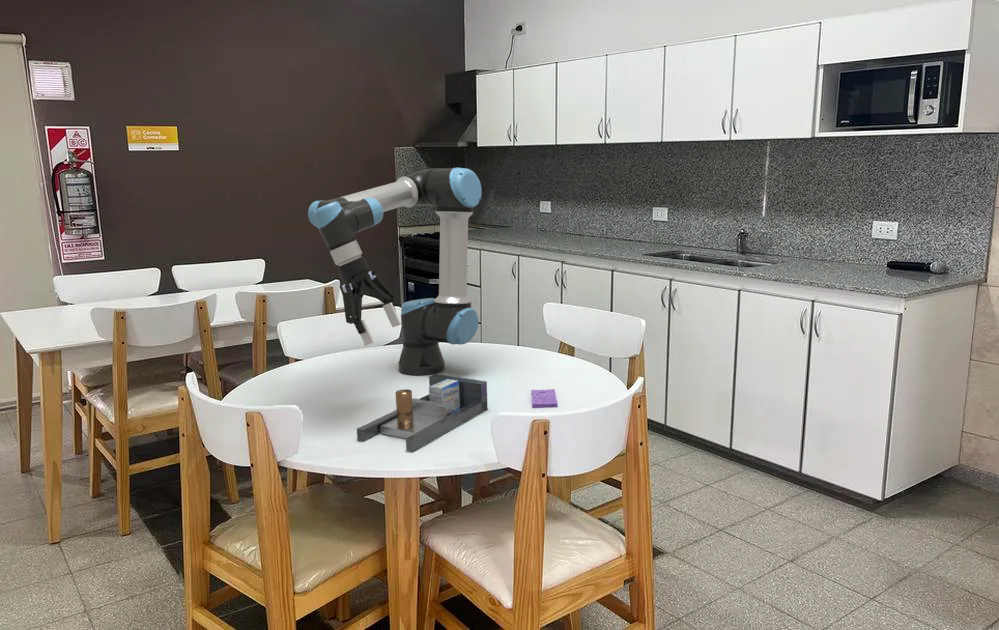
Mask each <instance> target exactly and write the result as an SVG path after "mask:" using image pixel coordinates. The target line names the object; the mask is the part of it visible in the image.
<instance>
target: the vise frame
mask: <svg viewBox="0 0 999 630" xmlns="http://www.w3.org/2000/svg"><path fill="white" fill-rule="evenodd" d="M446 379H451V380H456V381H459V399H460V410H458V411H456V412H454V413H452V414H451V415H449V416H447V417H445V418H443V419H441V420H439V421H438V422H436V423H434V424H432V425H430V426H428V427H426V428H425V429H423V430H421V431H419V432H417V433H415V434H413V435H412V436H410V437H408V438H405V448H406V449H405V451H406V452H410V453H413V452H416V451H418V450H419V449H421V448H424V446H426V445H428V444H430V443H432V442H434V441H435V440H437V439H438V438H440V437H442V436H444V435H446V434H448V433H450V432H451V431H453V430H455V429H456V428H458V427H459V426H461V425H463V424H465V423H467V422H468V421H470V420H472V419H474V418H475V417H477V416H479V415H481V414H482V413H484V412H486V411H488V410H489V409H488V384H487V383H488V381H486V380H480V379H474V378H473V379H472V378H466V377H458V376H451V375H445V374H438V373H433V374H431V375H430V376H429V377H428V383H429V385H428V388H429V387H430V386H432V385H434V384H437V383H439V382H441V381H444V380H446ZM419 399H420V400H426V401H430V398H429V393H428V394H427V395H424V396H423V397H420V398H419ZM395 418H397V410H396V409H395V410H393V411H391V412H389V413H387V414H385V415H383V416H380V417H379V418H376V419H375V420H372V421H370V422H368V423H365V424H363V425H362V426H360V427H358V428H356V436H357V437H356V438H357V439H356V440H357V441H359V442H366V441H368V440H370V439H371V438H374V437H376V436H378V435H380V434H381V429H380V426H381V425H383V424H385V423H387V422H389V421H391V420H393V419H395Z"/></svg>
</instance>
